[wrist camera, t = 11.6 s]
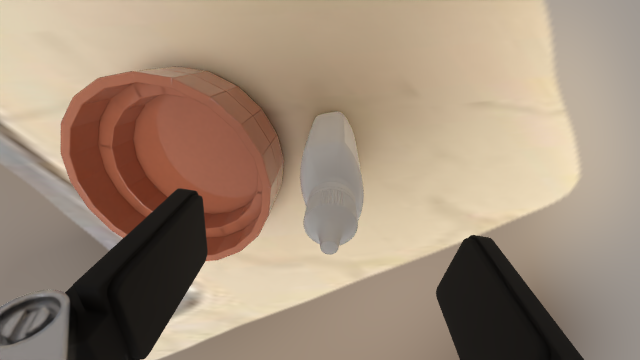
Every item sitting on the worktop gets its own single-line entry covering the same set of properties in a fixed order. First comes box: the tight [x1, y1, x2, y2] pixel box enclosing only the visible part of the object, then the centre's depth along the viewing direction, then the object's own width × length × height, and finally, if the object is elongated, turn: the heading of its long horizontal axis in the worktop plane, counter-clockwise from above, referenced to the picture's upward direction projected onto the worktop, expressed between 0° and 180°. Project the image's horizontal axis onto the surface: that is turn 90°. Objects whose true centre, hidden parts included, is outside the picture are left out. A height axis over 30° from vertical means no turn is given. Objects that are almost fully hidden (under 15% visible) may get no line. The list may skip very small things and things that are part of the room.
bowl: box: [61, 66, 284, 261], centre depth 20 cm, size 14×14×5 cm
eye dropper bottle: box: [300, 111, 364, 254], centre depth 15 cm, size 4×6×12 cm
